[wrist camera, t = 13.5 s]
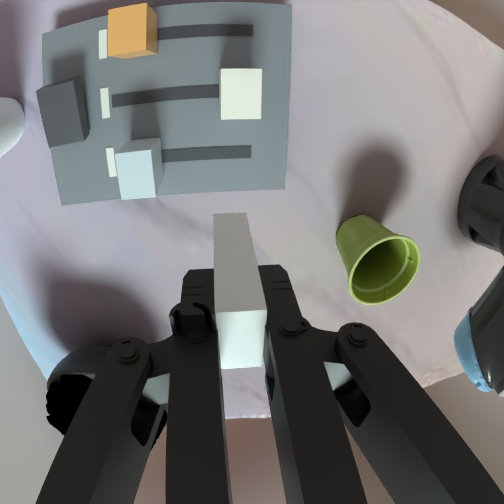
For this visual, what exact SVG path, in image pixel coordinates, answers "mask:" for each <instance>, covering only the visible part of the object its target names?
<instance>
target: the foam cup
mask: <svg viewBox="0 0 504 504" xmlns="http://www.w3.org/2000/svg"><path fill="white" fill-rule="evenodd" d="M24 128H25V115H24V112H23V109H22V106H21V105H20V104H19V103H18V102H17V101H16V100H15V99H12V98H8V97H6V98H5V97H0V157H1V156H2V155H4V154H5V153H6V152H7V151H8V150H10V149H11V148H12V147H13V146H14V145H15V144H16V143H17V142H18V141H19V140H20V139H21V136H22V133H23V131H24Z"/></svg>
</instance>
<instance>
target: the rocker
mask: <svg viewBox="0 0 504 504" xmlns="http://www.w3.org/2000/svg"><path fill="white" fill-rule="evenodd" d="M36 93H37V98H38V103H39V108H40V113H41V117H42V122H43V126H44V130H45V134H46V138H47V142H48V145H49V148H51V147H56V146H61V145H66V144H71V143H76V142H81V141H85V139H86V138H87V137H88V136H89V134H90V133H89V128H88V123H87V117H86V112H85V106H84V100H83V94H82V87H81V80H80V76H79V77H75V78H71V79H67V80H63V81H60V82H56V83H53V84H49V85H46V86H43V87H42V88H40V89H38V90H37V91H36Z"/></svg>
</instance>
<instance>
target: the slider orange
mask: <svg viewBox="0 0 504 504" xmlns="http://www.w3.org/2000/svg"><path fill="white" fill-rule="evenodd" d="M155 54H157V14H156V12H155V11H154V10H153V9H152V8H151V7H150V6H149V5H148V3H141V4H135V5H130V6H124V7H119V8H115V9H110V10H108V56H110V57H117V58H123V59H127V58H133V57H140V56H147V55H155Z"/></svg>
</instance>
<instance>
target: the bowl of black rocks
mask: <svg viewBox="0 0 504 504" xmlns="http://www.w3.org/2000/svg"><path fill="white" fill-rule="evenodd" d="M110 348H111V347H109V346H90V347H86V348H82V349H79V350H77V351H74V352H72V353H71V354H69V355H67V356H66V357H65V358H64V359H62V360H61V361H60V362H59V363H58V364H57V366H56V367H55V368H54V370H53V371H52V373H51V375H50V377H49V379H48V382H47V390H48V392H47V395H46V399H47V404H46V408H47V412H48V414H50V415H49V416H47V420H48V422H49V423H50V424H51V425H52V426H53V427H55V428H56V429H57V430H59V431H60V432H61V433H62V434H63V435H64V436H65V434H66V432H67V430H68V428H69V426H70V424H71V422H72V420H73V418H74V416H75V414H76V412H77V410H78V408H79V406H80V404H81V402H82V400H83V398H84V396H85V394H86V392H87V390H88V388H89V386H90V384H91V382H92V380H93V379H94V377H95V375H96V373H97V371H98V369H99V367H100V366H101V364H102V362H103V360H104V358H105V356H106V355H107V353H108V351H109V349H110ZM167 414H168V402H167V403H166V407H165V409H164V412H163V415H162V418H161V421H160V424H159V427H158V430H157V433H156V436H155V439H154V441H153V444H152V447H151V450H152V448H153V445H154V444H155V443H156V440H157V439H158V438H159V436H160V434H161V432H162V430H163V428H164V427H165V426H166V425H167ZM151 450H150V451H151Z"/></svg>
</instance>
